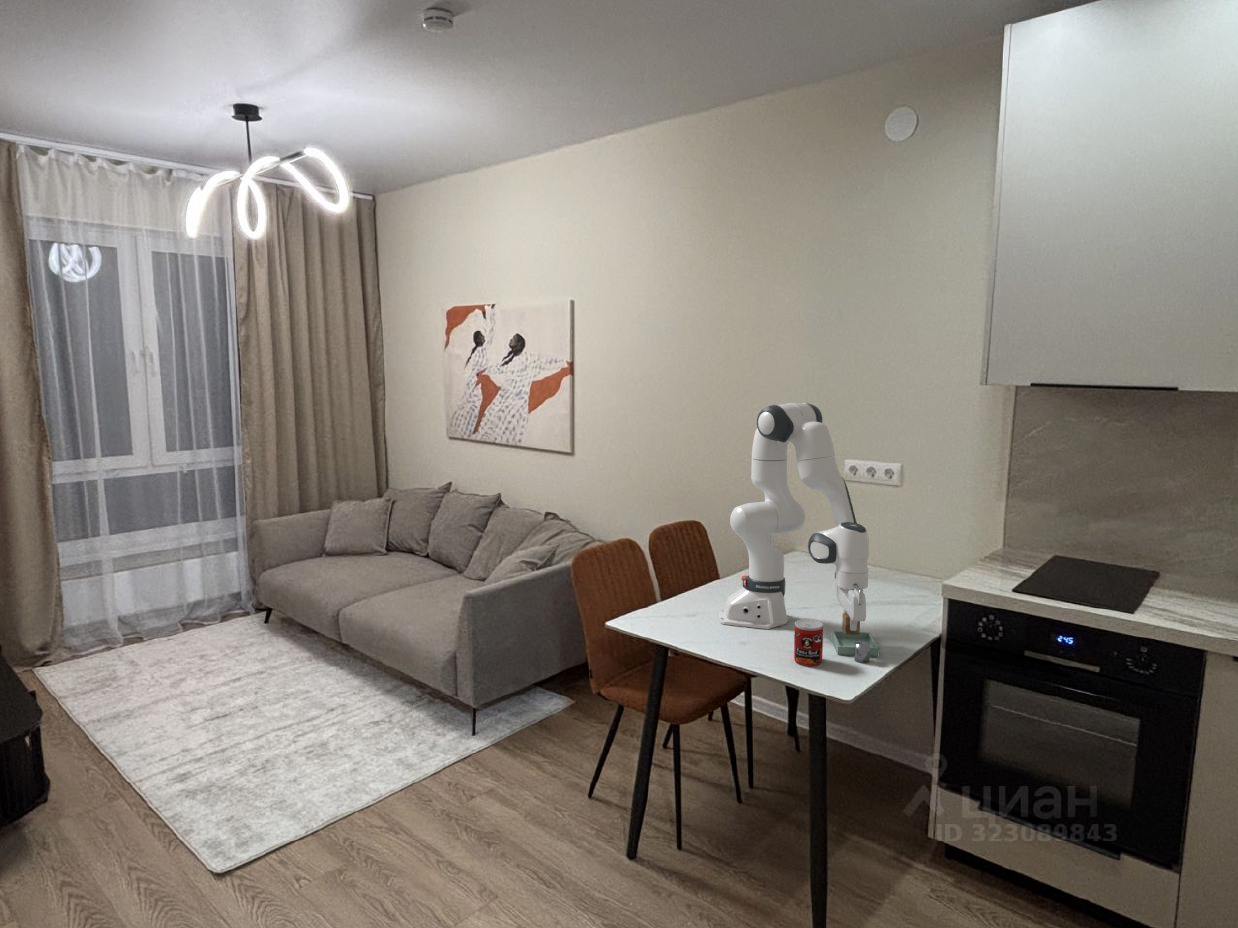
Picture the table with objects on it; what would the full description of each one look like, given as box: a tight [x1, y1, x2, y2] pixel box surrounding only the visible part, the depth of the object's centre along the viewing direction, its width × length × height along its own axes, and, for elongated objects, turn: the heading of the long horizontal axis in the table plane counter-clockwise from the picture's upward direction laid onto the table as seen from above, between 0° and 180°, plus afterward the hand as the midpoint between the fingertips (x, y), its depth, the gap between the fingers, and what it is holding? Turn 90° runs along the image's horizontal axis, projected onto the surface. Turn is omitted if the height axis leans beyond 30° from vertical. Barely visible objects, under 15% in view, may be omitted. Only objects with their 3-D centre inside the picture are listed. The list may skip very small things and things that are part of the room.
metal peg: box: [853, 641, 871, 665], centre depth 210 cm, size 4×4×5 cm
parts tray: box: [830, 630, 880, 658], centre depth 220 cm, size 11×13×2 cm
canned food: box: [793, 618, 824, 667], centre depth 209 cm, size 8×8×11 cm
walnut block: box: [841, 612, 861, 635], centre depth 216 cm, size 4×4×5 cm
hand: (850, 626), depth 216 cm, fingers closed on walnut block, 4 cm apart
